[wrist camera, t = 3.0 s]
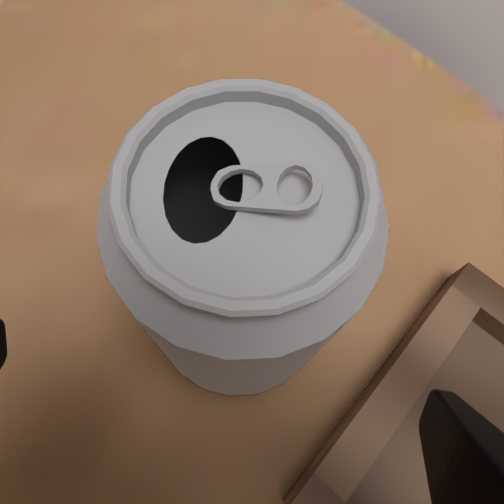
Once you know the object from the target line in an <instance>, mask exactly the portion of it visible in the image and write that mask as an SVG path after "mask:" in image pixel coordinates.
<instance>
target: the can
mask: <svg viewBox="0 0 504 504" xmlns="http://www.w3.org/2000/svg"><path fill="white" fill-rule="evenodd" d="M388 234H389V225H388V220H387V215H386V210H385V205H384V200H383V194H382V189H381V187H380V181H379V176H378V171H377V166H376V162H375V160H374V158H373V157H372V155H371V153H370V151H369V150H368V148H367V146H366V144H365V143H364V141H363V139H362V138H361V136H360V134H359V132H358V131H357V130H356V129H355V128H354V127H353V126H352V125H351V124H350V123H349V122H348V121H347V120H346V119H345V118H344V117H342V116H341V115H340V114H339V113H338V112H337V111H336V110H335V109H334V108H333V107H332V106H331V105H329V104H327V103H325V102H323V101H321V100H320V99H318V98H316V97H314V96H312V95H310V94H308V93H306V92H304V91H302V90H300V89H299V88H297V87H292V86H288V85H284V84H280V83H275V82H271V81H267V80H263V79H219V80H216V81H212V82H208V83H204V84H200V85H196V86H193V87H189V88H185V89H183V90H181V91H179V92H177V93H176V94H174V95H172V96H170V97H169V98H167V99H165V100H163V101H162V102H160V103H158V104H156V105H155V106H153V107H151V108H150V109H149V110H148V111H147V112H146V113H145V115H144V116H143V117H142V118H141V119H140V120H139V121H138V122H137V123H136V124H135V125H134V126H133V127H132V128H131V129H130V130H129V131H128V132H127V133H126V134H125V136H124V139H123V141H122V143H121V145H120V147H119V149H118V151H117V154H116V156H115V158H114V160H113V162H112V164H111V166H110V170H109V178H108V180H107V182H106V185H105V187H104V189H103V191H102V193H101V195H100V200H99V211H98V222H97V234H96V240H97V243H98V247H99V251H100V254H101V258H102V261H103V265H104V269H105V272H106V276H107V279H108V281H109V283H110V284H111V285H112V287H113V288H114V290H115V291H116V292H117V294H118V295H119V296H120V298H121V299H122V301H123V302H124V303H125V305H126V306H127V307H128V309H129V310H130V312H131V313H132V314H133V316H134V317H135V318H136V320H137V321H138V322H139V323H140V325H141V326H142V327H143V328H144V330H145V331H146V332H147V333H148V334H149V336H150V337H151V338H152V339H153V341H154V342H155V343H156V344H157V346H158V347H159V348H160V349H161V350H162V352H163V353H164V354H165V355H166V357H167V358H168V359H169V360H170V362H171V363H172V364H173V365H174V366H175V368H176V369H177V370H178V371H179V373H181V374H182V375H184V376H185V377H186V378H188V379H189V380H191V381H192V382H194V383H195V384H197V385H198V386H199V387H201V388H203V389H206V390H210V391H213V392H217V393H220V394H224V395H227V396H235V395H254V394H259V393H261V392H264V391H266V390H268V389H271V388H273V387H276V386H278V385H281V384H283V383H284V382H285V381H286V380H287V379H288V378H290V377H291V376H292V375H293V374H294V373H295V372H297V371H298V370H299V369H300V368H301V367H302V366H303V365H304V364H305V363H306V362H307V361H308V360H309V359H310V358H311V357H312V356H313V355H315V354H316V353H317V352H318V351H319V350H320V349H321V348H322V347H323V346H324V345H325V344H326V343H327V342H328V341H329V340H330V339H331V338H332V337H333V336H334V335H335V334H336V333H337V332H338V331H339V330H340V329H341V328H342V327H343V326H344V325H345V324H346V323H347V322H348V321H349V320H350V319H351V318H352V317H353V316H354V315H355V314H356V313H357V312H358V311H359V310H360V309H361V308H362V306H363V304H364V303H365V301H366V299H367V297H368V296H369V294H370V292H371V290H372V288H373V287H374V285H375V283H376V281H377V280H378V278H379V276H380V274H381V272H382V271H383V266H384V259H385V253H386V246H387V240H388Z"/></svg>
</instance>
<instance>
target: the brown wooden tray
mask: <svg viewBox="0 0 504 504" xmlns="http://www.w3.org/2000/svg"><path fill="white" fill-rule="evenodd" d="M433 389H441V390H447V391H452V392H454V393H455V394H457V395H458V396H459V397H460V398H462V399H463V400H464V401H465V402H467V403H468V404H469V405H470V406H471V407H473V408H474V409H475V410H476V411H478V412H479V413H480V414H481V415H483V416H484V417H485V418H486V419H487V420H489V421H490V422H491V423H492V424H494V425H495V426H496V427H497V428H499V429H500V430H501V431H502V432H504V288H503V287H502V286H500V285H499V284H498V283H496V282H495V281H493V280H492V279H491V278H489V277H488V276H487V275H485V274H484V273H483V272H481V271H480V270H478V269H477V268H476V267H474V266H473V265H472V264H470V263H467V264H466V265H465V266H463V267H462V268H460V269H459V270H458V271H456V272H455V273H454V274H452V275H451V276H450V277H448V279H447V280H446V281H445V283H444V284H443V285H442V287H441V288H440V289H439V291H438V292H437V294H436V295H435V296H434V298H433V299H432V300H431V302H430V303H429V304H428V306H427V307H426V308H425V310H424V311H423V312H422V314H421V315H420V316H419V318H418V319H417V320H416V322H415V323H414V324H413V326H412V327H411V328H410V330H409V331H408V332H407V334H406V335H405V336H404V338H403V339H402V340H401V342H400V343H399V344H398V346H397V347H396V348H395V350H394V351H393V352H392V354H391V355H390V356H389V358H388V359H387V361H386V362H385V363H384V365H383V366H382V367H381V369H380V370H379V371H378V373H377V374H376V375H375V377H374V378H373V379H372V381H371V382H370V383H369V385H368V386H367V387H366V389H365V390H364V391H363V393H362V394H361V395H360V397H359V398H358V399H357V401H356V402H355V403H354V405H353V406H352V407H351V409H350V410H349V411H348V413H347V414H346V415H345V417H344V418H343V419H342V421H341V422H340V423H339V425H338V426H337V428H336V429H335V430H334V432H333V433H332V434H331V436H330V437H329V438H328V440H327V441H326V442H325V444H324V445H323V446H322V448H321V449H320V450H319V452H318V453H317V454H316V456H315V457H314V458H313V460H312V461H311V462H310V464H309V465H308V466H307V468H306V469H305V470H304V472H303V473H302V474H301V476H300V477H299V478H298V480H297V481H296V482H295V484H294V485H293V486H292V488H291V489H290V490H289V492H288V493H287V495H286V496H285V497H284V499H283V501H284V502H285V503H286V504H432V503H431V498H430V493H429V487H428V481H427V476H426V470H425V464H424V458H423V452H422V446H421V440H420V434H419V419H420V416H421V414H422V411H423V408H424V405H425V403H426V400H427V397H428V395H429V393H430V391H431V390H433Z"/></svg>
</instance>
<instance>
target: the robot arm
mask: <svg viewBox="0 0 504 504" xmlns="http://www.w3.org/2000/svg"><path fill="white" fill-rule="evenodd" d="M6 357H7V343H6V332H5V324H4V322H3V320H1V319H0V369H1V367H2V366H3V364H4V362H5V360H6ZM419 434H420V440H421V446H422V452H423V458H424V464H425V470H426V476H427V481H428V487H429V493H430V498H431V503H432V504H504V432H502V431H501V430H500V429H499V428H497V427H496V426H495V425H494V424H492V423H491V422H490V421H489V420H487V419H486V418H485V417H484V416H483V415H481V414H480V413H479V412H478V411H476V410H475V409H474V408H473V407H471V406H470V405H469V404H468V403H467V402H465V401H464V400H463V399H462V398H460V397H459V396H458V395H457V394H455V393H454V392H452V391H447V390H441V389H433V390H431V391H430V393H429V395H428V397H427V400H426V403H425V405H424V408H423V411H422V414H421V416H420V419H419Z"/></svg>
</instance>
